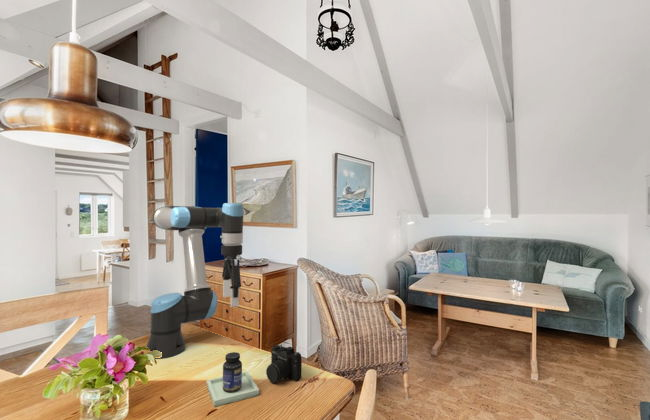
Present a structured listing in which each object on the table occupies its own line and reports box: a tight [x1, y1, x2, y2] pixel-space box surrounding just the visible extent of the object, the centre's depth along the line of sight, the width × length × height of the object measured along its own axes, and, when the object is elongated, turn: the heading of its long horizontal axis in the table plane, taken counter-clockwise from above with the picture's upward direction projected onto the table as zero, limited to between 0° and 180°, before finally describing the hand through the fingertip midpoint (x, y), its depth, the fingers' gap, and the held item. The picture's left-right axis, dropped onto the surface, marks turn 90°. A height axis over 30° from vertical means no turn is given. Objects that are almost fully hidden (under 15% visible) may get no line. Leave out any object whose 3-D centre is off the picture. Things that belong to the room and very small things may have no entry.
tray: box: [206, 370, 260, 408], centre depth 108 cm, size 14×14×2 cm
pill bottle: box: [222, 351, 243, 393], centre depth 108 cm, size 6×6×11 cm
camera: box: [265, 344, 303, 384], centre depth 117 cm, size 14×11×10 cm
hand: (230, 301), depth 120 cm, fingers open, 13 cm apart
